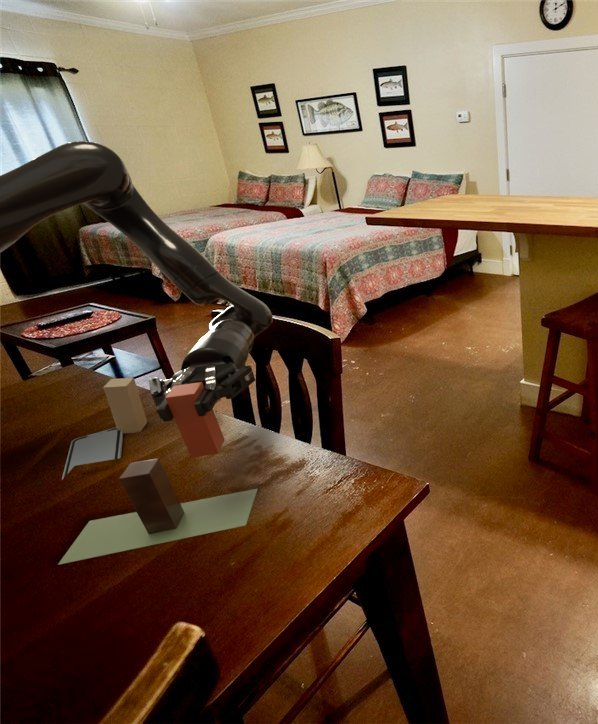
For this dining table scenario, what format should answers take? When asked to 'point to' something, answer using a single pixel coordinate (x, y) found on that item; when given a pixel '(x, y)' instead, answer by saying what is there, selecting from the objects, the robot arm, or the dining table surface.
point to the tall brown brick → (152, 495)
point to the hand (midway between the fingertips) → (182, 412)
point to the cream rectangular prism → (125, 405)
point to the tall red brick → (194, 421)
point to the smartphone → (94, 448)
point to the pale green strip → (132, 533)
